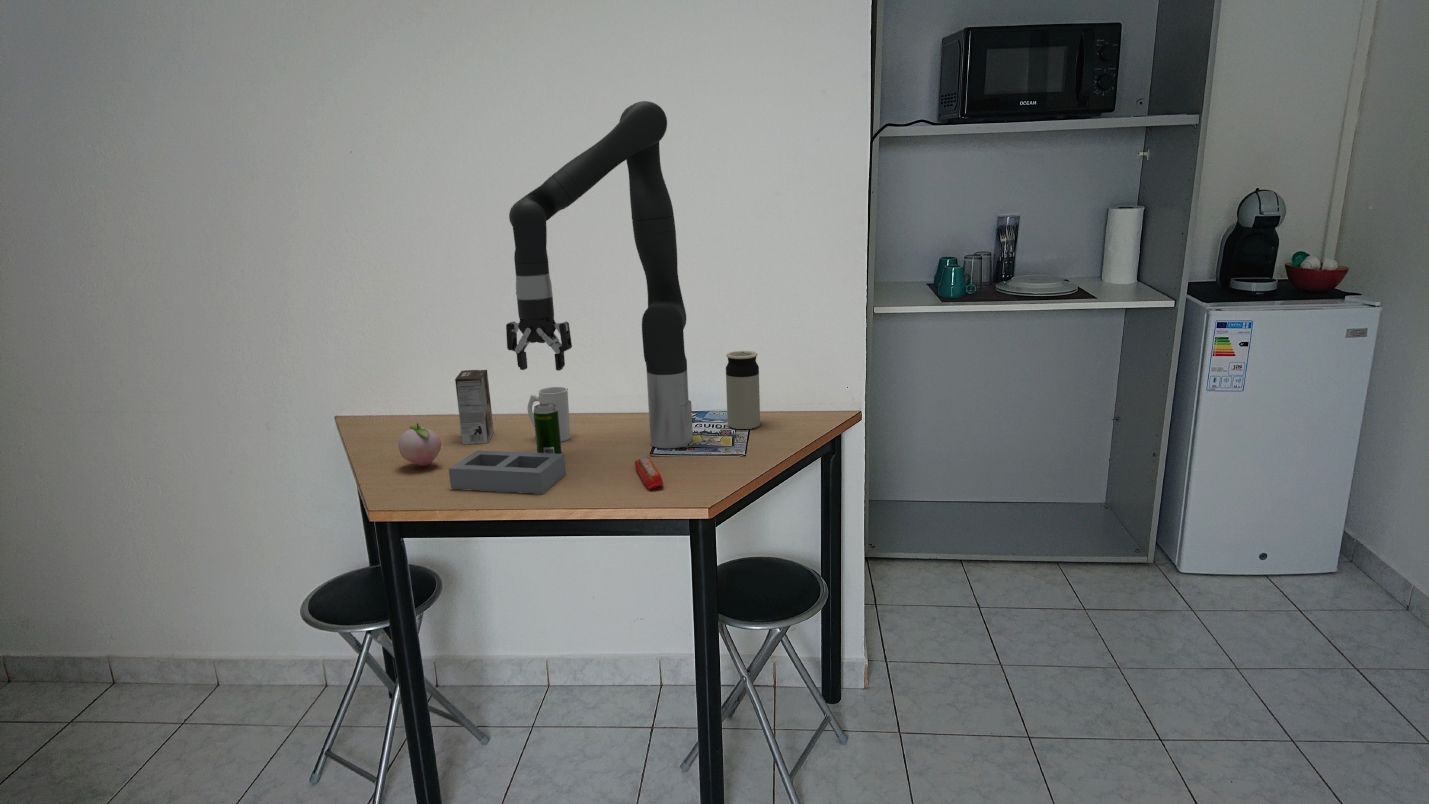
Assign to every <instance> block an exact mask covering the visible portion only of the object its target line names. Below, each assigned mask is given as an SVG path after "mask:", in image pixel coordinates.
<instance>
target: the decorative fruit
mask: <svg viewBox="0 0 1429 804" xmlns="http://www.w3.org/2000/svg"><path fill="white" fill-rule="evenodd" d="M438 435H439V434H437V433H436V432H434V431H433V430H431V429H428V428H425V427H422V426H421V425H419V423H418V422H417V423H416V425H410V426H409V429H408V430H406V431H404V432H403V433H402V435H401V436H400V437H399V440H398V443H397V446H398V451H399V453H400V455H401V457H402V458H403V459H404V460H405V461H407V462H409V463H412V464H415V465H417V466H418V465H419V466H420V467H422V468H424V467H426V466H427V465H429V464H431V463H432V462H433V461H434V460H435V459H436V458H437V457H438V456H439V454H440V451H441V447H442V440H441V438H440V436H438Z"/></svg>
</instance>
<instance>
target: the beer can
mask: <svg viewBox="0 0 1429 804" xmlns="http://www.w3.org/2000/svg"><path fill="white" fill-rule="evenodd" d="M533 415H534V423H535V427H534V433H535V443H536V453H552V454H563V453H562V443H561V440H560V428H559V416H558V408H557V405H556V404H553V403H545V404H540V403H539V404H536V405H534V409H533Z"/></svg>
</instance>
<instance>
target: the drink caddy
mask: <svg viewBox="0 0 1429 804" xmlns="http://www.w3.org/2000/svg"><path fill="white" fill-rule="evenodd" d="M565 461H566V459H565V454H564V453H562V454H552V453H537V452H523V451H501V450H482V449H481V450H475V451H474V452H472V453H471V454H469V455H468V456H466V457H465V458H463V459H461V460H459V461H458V462H456V463H455V464H453V465H452V466H450V467H449V468H448V474H449V482H450V489H451V488H452V489H451V490H454V489H471V490H470V491H472V490H480V491H479V492H490V491H496V492H495V493H509V492H517V493H516V494H519V493H518V492H522V493H521V494H527V493H535V494H534V495H543V494H544V493H546V492H547V491H548V490H549V489H550V488H551V487H553V486H554V485H555V484H556V483H557V482H558V481H560V480H561V479H562V478H563V477H565V475H566V462H565ZM547 489H548V490H547ZM546 490H547V491H546ZM543 492H544V493H543Z"/></svg>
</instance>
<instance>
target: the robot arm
mask: <svg viewBox="0 0 1429 804" xmlns="http://www.w3.org/2000/svg"><path fill="white" fill-rule="evenodd" d="M667 127H668V118H667V115H666V112H665V111H664V109H663V108H662V107H661V106H659V104H657V103H656V102H655V103H654V102H652V101H646V100H643V101H638V102H635V103H633V104H631V105H629V106H628V107H626V108H625V109H624V110H623V112H622V113H621V115H620V119H619V122H618V123H617V124H616V125H615V126H614V127H613V128H612V129H611V130H610V131H609V132H608V133H607V134H606V135H605V136H604V137H602V139H600V140H599V141H597V142H596V143H595V144H593V145H592V146H590V147H589V148H587V149H586V150H585V151H583V152H581V153H580V154H579V155H577V156H576V157H573V159H571V160H570V161H568V162H567V163H566V164H564V165H562V167H560V168H559V169H558V170H557V171H555V172H554V173H553V174H552V175H550V176H549V177H548V178H547V179H546V180H545V181H543V183H541V185H539V186H538V187H536V188H534V189H533V190H532V191H530V192H529V193H527V194H526V195H524V196H523V197H521V198H520V199H519V200H517V202H515V203H514V204H513V205H512V206H511V208H510V210H509V214H508V218H509V223H510V225H511V226H512V232H513V241H514V246H515V247H514V248H515V249H514V256H513V257H514V258H513V260H514V261H513V262H514V269H515V296H516V301H517V304H516V305H517V314H518V318H519V322H515V321H511V322H508V323H506V324H505V325H506V326H505V328H506V329H505V330H506V334H505V335H506V349H507V350H508V351H512V352H515V354H516V361H517V367H518V368H519V369H520V370H521V371H524V370H527V369H528V359H527V351H525V350H526V349H527V347H528V345H529V344H530V343H531V344H535V343H538V344H545V343H546V345H547V346H548V347H551V349H552V351H553V352H554V364H555V370H556V371H557V372H558V371H562V370H563V369H564V367H565V365H566V362H565V361H566V360H565V352H566V351H568V350H571V349H572V347H573V343H572V338H571V337H572V336H571V331H570V323H569V322H568V321H564V322H559V323H558V322H556V320H555V308H554V297H553V296H554V295H553V286H552V285H553V284H552V280H551V277H550V267H549V256H548V250H547V241H548V240H547V238H548V237H547V236H548V235H547V233H548V231H547V227H548V226H547V221H549V220H550V219H551V218H552V217H554V215H556V214H557V213H559V212H560V211H563V210H565V209H566V208H568V207H569V206H571V205H572V204H574V203H575V202H576V201H577V200H579V199H580V198H581V197H582V196H583V195H585V194H586V193H587V192H588V191H590V190H591V189H592V188H593V187H594V186H595V185H596V184H598V183H599V182H601V180H603V178H605V177H606V176H607V175H608V174H609V173H610V172H612V171H613V170H614V169H616V168H617V167H618V166H619V165H621V164H622V163H623V162H625V161H626V165H627V171H628V184H629V198H630V212H631V220H632V221H631V222H632V229H633V230H632V231H633V238H634V243H635V244H634V245H635V247H636V250H637V253H638V257H639V260H640V263H641V265H642V269H643V271H644V275H645V280H646V290H647V308H646V309H645V311H644V313H643V315H642V318H641V336H642V337H641V338H642V347H643V348H642V349H643V357H644V362H645V367H646V382H647V383H646V384H647V385H646V386H647V387H646V388H647V399H648V402H647V403H648V420H649V437H650V439H649V440H650V445H651V446H652V447H655V448H657V449H678V448H687V447H688V446H689V445H690V444H691V443H692V442H693V440H694V439H693V436H694V434H693V433H694V432H693V414H692V413H693V412H692V411H693V409H692V400H690V399H689V383H688V381H689V380H688V379H689V378H688V359H687V357H686V352H685V339H684V337H685V335H684V329H685V328H686V324H687V311H686V307H685V303H684V300H683V299H684V298H683V293H682V290H681V285H680V281H679V272H678V271H679V270H678V246H677V232H676V222H675V214H674V209H673V204H672V200H671V197H670V193H669V189H668V188H667V185H666V180H665V179H664V175H663V171H662V165H661V155H660V154H661V153H660V150H661V149H660V141H661V140H662V139H663V137H664V136H665V134H666V131H667V129H668V128H667ZM556 330H557V332H558V333H559V335H560V339H559V337H558V336H557V335H556V333H555V331H556ZM518 331H519V332H521V334H522V336H521V337H520V338H519V340H518ZM688 444H689V445H688Z"/></svg>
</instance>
